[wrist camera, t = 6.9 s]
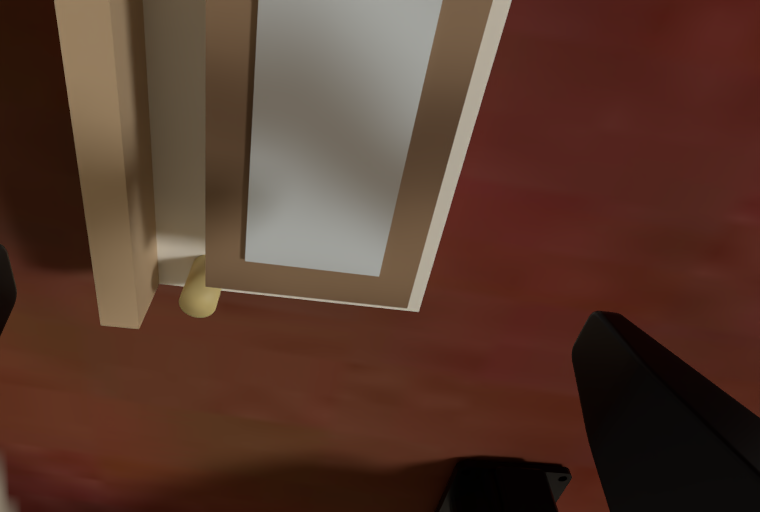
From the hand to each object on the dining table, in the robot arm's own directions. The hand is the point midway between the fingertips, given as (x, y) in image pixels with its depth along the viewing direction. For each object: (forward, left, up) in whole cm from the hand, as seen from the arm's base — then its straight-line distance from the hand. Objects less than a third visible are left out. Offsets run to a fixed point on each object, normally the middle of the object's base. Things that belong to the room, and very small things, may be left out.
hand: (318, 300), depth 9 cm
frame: (0, 0, -10) cm, 10 cm away
